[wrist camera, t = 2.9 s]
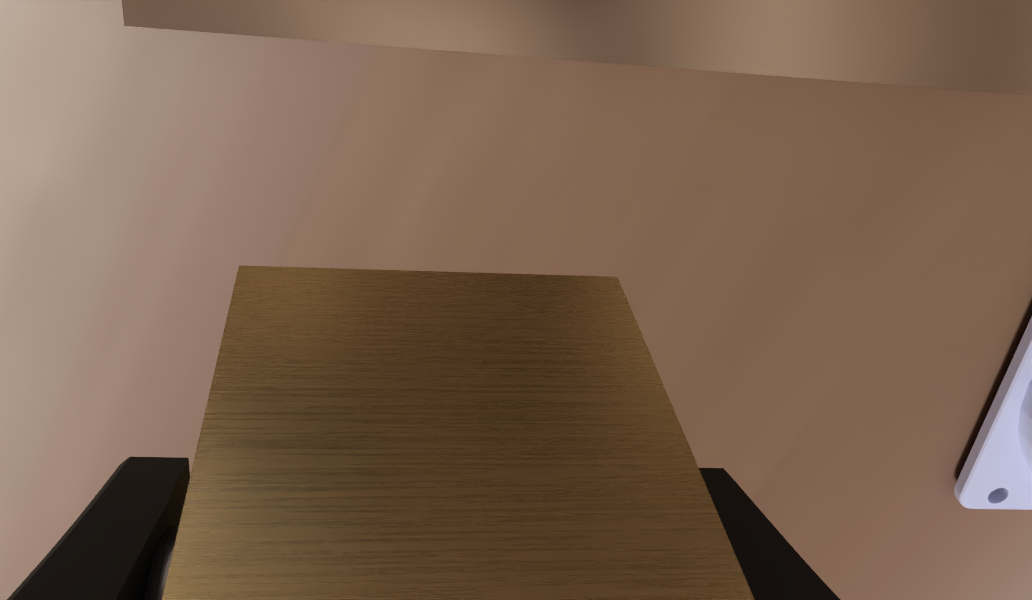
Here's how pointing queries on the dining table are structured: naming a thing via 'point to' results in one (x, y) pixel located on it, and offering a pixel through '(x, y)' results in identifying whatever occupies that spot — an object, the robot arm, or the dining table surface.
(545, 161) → the dining table surface
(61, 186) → the dining table surface
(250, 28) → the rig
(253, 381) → the block
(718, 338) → the dining table surface
